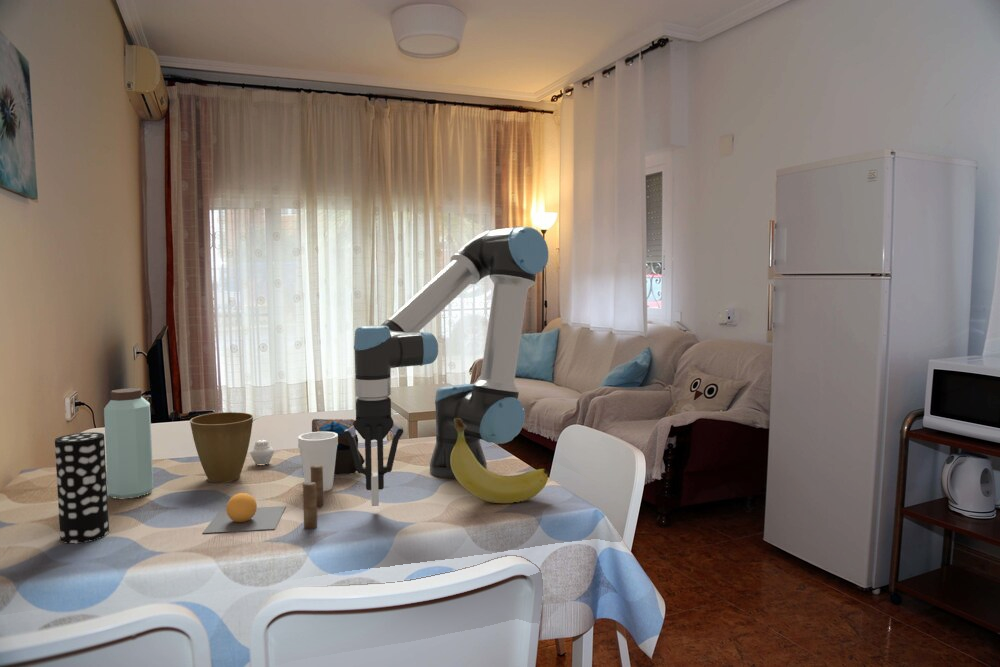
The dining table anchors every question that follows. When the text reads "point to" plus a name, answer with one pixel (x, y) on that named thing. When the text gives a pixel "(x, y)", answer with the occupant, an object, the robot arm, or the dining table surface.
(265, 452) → the white lidded jar
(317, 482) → the post
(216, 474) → the plant pot
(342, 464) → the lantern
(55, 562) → the dining table surface
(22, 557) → the dining table surface
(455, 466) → the banana
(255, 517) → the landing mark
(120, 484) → the water bottle
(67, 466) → the spotted tube
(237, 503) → the ball
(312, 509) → the post
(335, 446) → the foam cup
